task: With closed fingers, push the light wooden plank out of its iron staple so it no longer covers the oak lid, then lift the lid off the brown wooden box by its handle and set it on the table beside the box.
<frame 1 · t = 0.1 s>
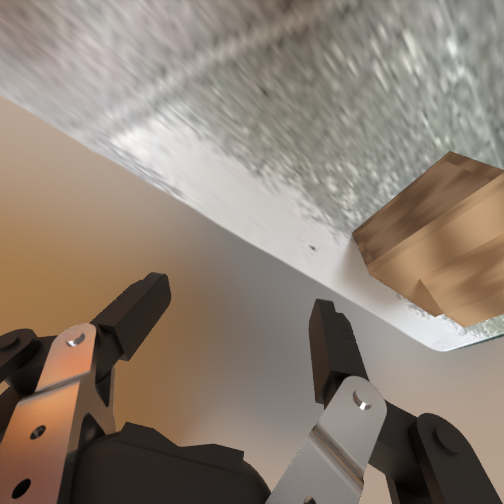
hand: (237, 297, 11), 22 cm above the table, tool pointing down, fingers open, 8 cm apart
lid: (452, 250, 23), point 7 cm above the table, touching brown wooden box
brown wooden box: (422, 221, 29), on the table
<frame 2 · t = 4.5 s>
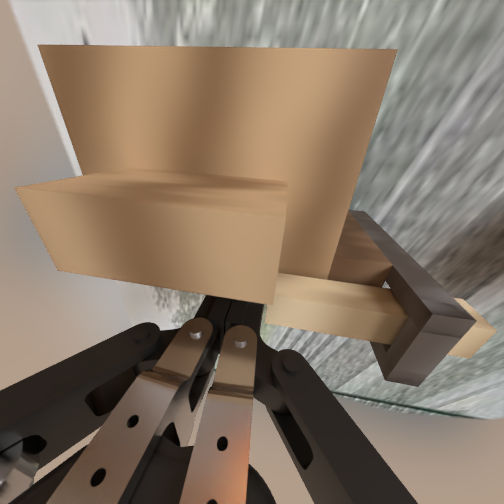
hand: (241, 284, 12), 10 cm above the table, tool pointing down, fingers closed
lid: (221, 193, 13), point 7 cm above the table, touching brown wooden box
light wooden plank: (361, 311, 11), point 11 cm above the table, slide at 0.8 cm, touching gripper
brown wooden box: (243, 175, 19), on the table
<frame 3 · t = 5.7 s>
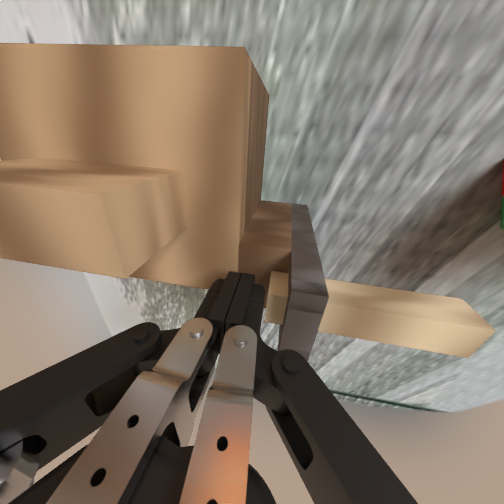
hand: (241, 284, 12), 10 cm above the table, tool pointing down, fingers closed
lid: (145, 184, 13), point 7 cm above the table, touching brown wooden box
light wooden plank: (361, 310, 11), point 11 cm above the table, slide at 6.1 cm, touching gripper
brown wooden box: (190, 170, 19), on the table
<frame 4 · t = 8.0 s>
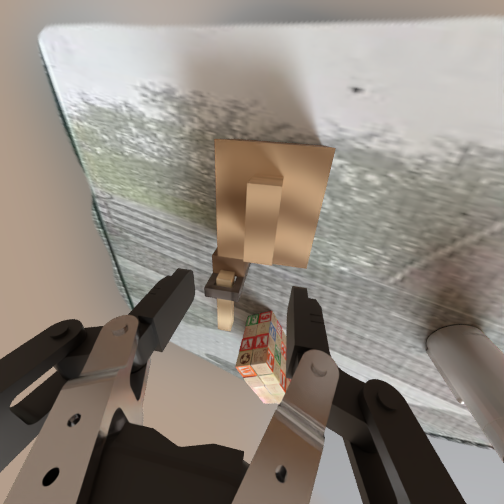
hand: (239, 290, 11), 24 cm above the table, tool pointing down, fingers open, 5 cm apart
lid: (268, 205, 25), point 7 cm above the table, touching brown wooden box
stack of blocks: (277, 342, 49), on the table
light wooden plank: (225, 302, 30), point 11 cm above the table, slide at 6.1 cm
brown wooden box: (272, 192, 31), on the table
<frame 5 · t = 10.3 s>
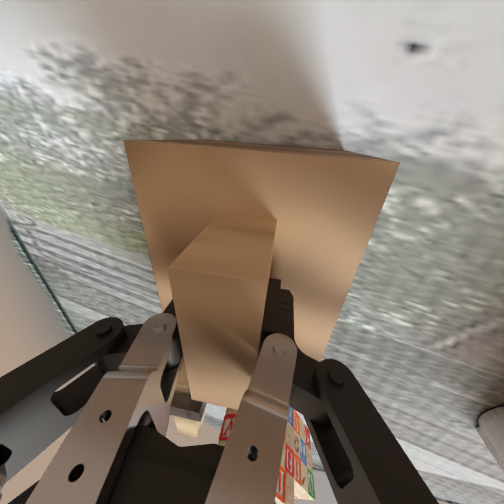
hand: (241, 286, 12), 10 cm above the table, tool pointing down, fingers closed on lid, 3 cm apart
lid: (251, 258, 14), point 7 cm above the table, touching gripper, brown wooden box
stack of blocks: (275, 402, 38), on the table
light wooden plank: (187, 400, 19), point 11 cm above the table, slide at 6.1 cm
brown wooden box: (262, 222, 20), on the table
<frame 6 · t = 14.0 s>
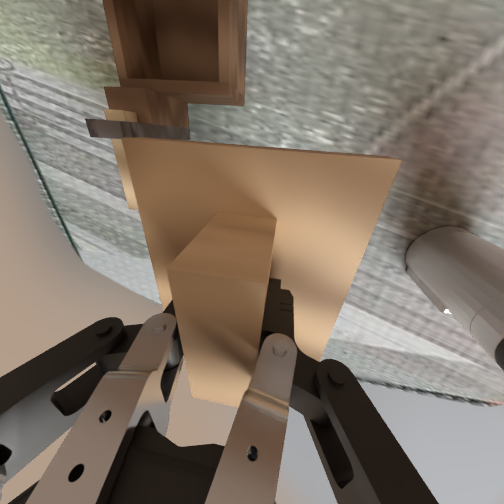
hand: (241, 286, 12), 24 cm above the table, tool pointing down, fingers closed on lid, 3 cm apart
lid: (251, 256, 14), point 21 cm above the table, touching gripper
light wooden plank: (132, 164, 23), point 11 cm above the table, slide at 6.1 cm
brown wooden box: (198, 32, 24), on the table
when the fingers open (5 cm above the table, at t = 17.7 s): lid drops 2 cm, on the table.
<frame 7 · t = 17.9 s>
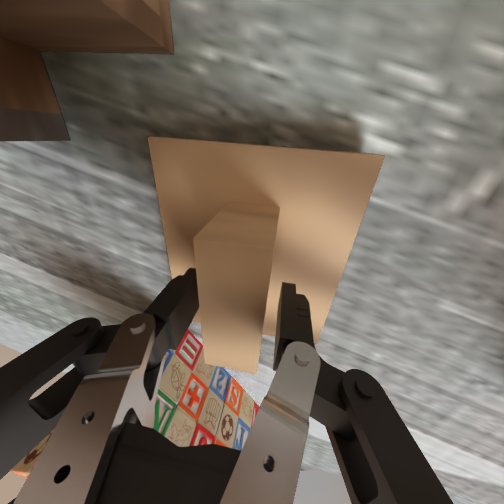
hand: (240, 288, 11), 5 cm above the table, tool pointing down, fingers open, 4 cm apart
lid: (255, 245, 16), on the table
stack of blocks: (207, 370, 26), on the table
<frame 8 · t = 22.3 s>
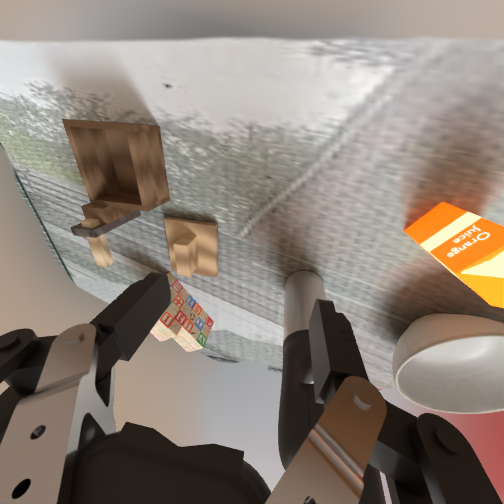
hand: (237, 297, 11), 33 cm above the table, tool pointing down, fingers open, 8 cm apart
lid: (196, 245, 50), on the table
stack of blocks: (186, 300, 60), on the table
decorative bowl: (433, 329, 50), on the table
light wooden plank: (98, 243, 40), point 11 cm above the table, slide at 6.1 cm
orange juice: (436, 229, 39), on the table
brown wooden box: (138, 163, 42), on the table
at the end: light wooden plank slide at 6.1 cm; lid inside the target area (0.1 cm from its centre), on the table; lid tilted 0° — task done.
